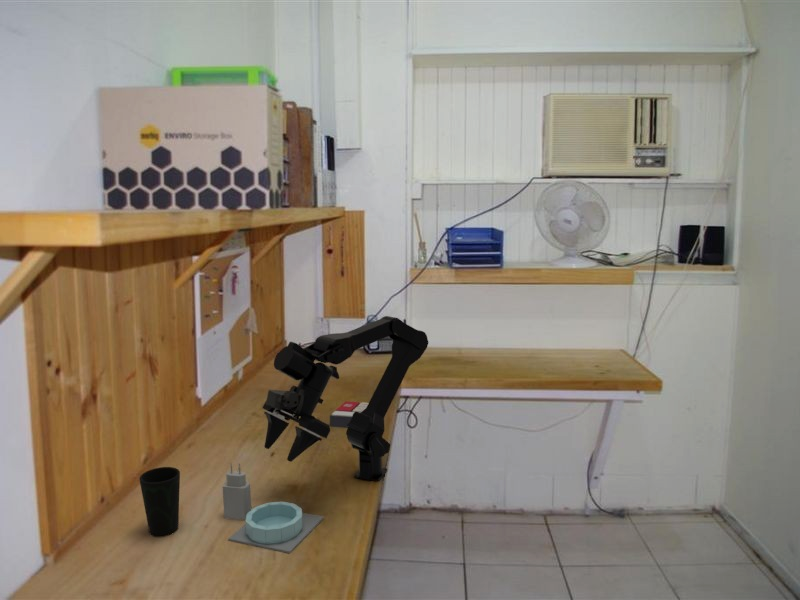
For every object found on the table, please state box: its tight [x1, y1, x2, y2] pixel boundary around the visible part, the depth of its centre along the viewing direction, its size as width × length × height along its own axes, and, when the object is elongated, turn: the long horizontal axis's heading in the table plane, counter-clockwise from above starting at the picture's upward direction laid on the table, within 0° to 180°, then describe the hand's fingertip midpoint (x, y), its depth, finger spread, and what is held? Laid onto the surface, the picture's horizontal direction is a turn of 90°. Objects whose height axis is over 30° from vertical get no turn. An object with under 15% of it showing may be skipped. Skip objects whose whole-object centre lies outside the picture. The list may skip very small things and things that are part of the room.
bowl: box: [245, 501, 303, 544], centre depth 126 cm, size 11×11×3 cm
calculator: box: [329, 400, 369, 429], centre depth 191 cm, size 11×4×15 cm
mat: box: [228, 512, 325, 554], centre depth 127 cm, size 14×14×1 cm
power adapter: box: [221, 462, 252, 521], centre depth 132 cm, size 3×5×12 cm, turn 78°
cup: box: [139, 466, 181, 538], centre depth 126 cm, size 8×8×12 cm
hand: (277, 454), depth 133 cm, fingers open, 9 cm apart
